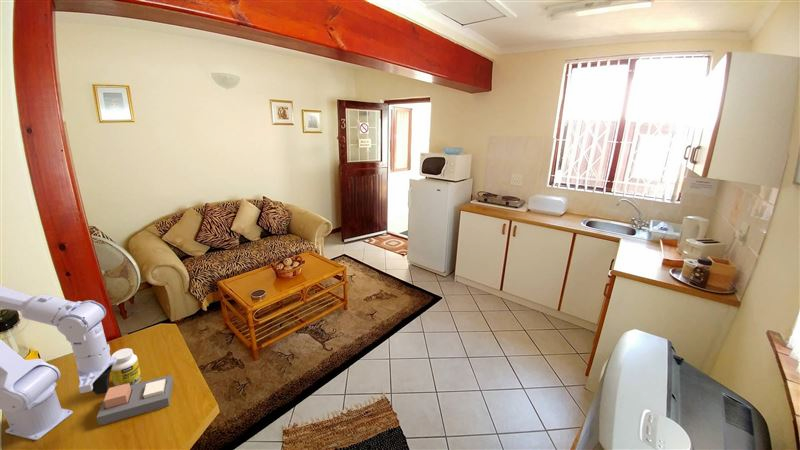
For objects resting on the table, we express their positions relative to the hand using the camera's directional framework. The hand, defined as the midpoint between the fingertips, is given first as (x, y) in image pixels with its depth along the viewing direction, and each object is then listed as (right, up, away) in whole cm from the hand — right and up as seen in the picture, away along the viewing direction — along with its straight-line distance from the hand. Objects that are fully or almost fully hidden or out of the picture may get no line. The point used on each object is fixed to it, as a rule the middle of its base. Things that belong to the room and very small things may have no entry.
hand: (102, 391), depth 79 cm
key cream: (+5, -7, +11) cm, 14 cm away
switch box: (+2, -8, +9) cm, 12 cm away
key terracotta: (-2, -6, +6) cm, 9 cm away
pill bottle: (-6, -5, +15) cm, 17 cm away
